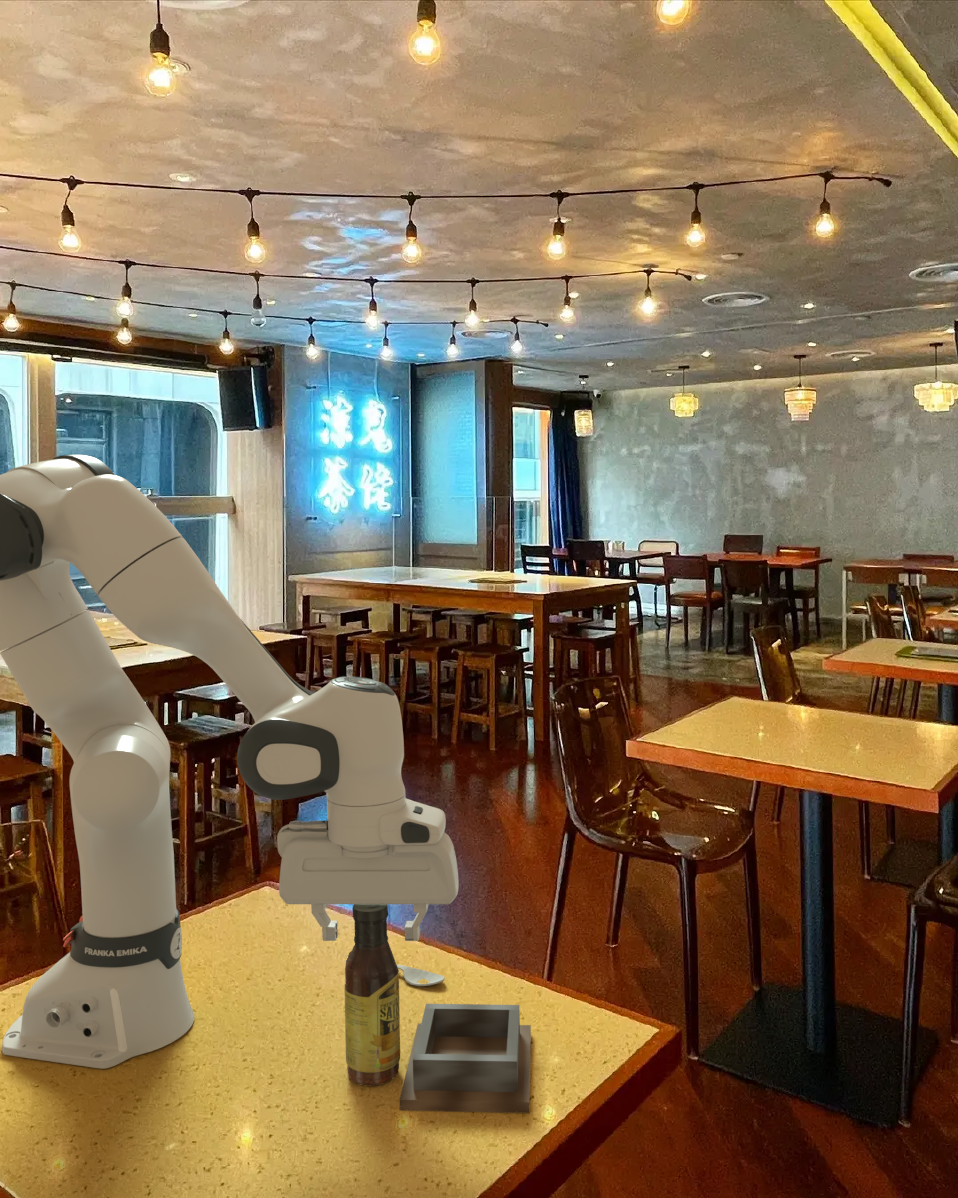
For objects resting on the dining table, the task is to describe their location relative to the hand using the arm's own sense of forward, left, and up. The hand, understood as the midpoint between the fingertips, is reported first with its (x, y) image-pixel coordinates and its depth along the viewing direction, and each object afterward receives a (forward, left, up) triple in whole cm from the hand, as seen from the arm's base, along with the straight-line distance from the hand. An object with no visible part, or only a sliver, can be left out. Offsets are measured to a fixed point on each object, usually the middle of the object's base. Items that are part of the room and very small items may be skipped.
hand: (371, 939), depth 111 cm
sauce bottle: (0, 0, -16) cm, 16 cm away
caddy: (+11, +1, -16) cm, 19 cm away
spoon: (-3, +26, -17) cm, 31 cm away
